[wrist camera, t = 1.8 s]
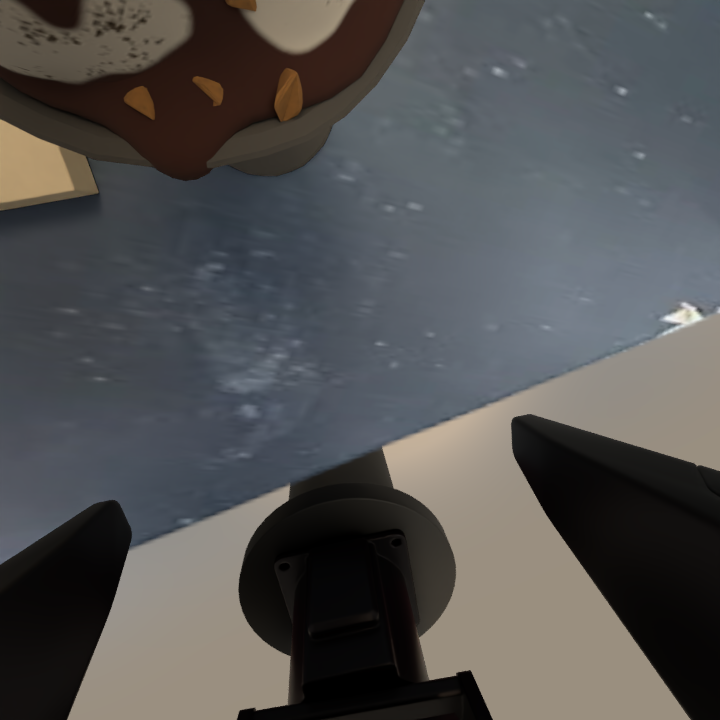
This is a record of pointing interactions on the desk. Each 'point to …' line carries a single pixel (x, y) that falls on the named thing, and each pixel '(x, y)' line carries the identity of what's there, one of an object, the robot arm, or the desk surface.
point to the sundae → (194, 76)
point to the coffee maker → (39, 170)
